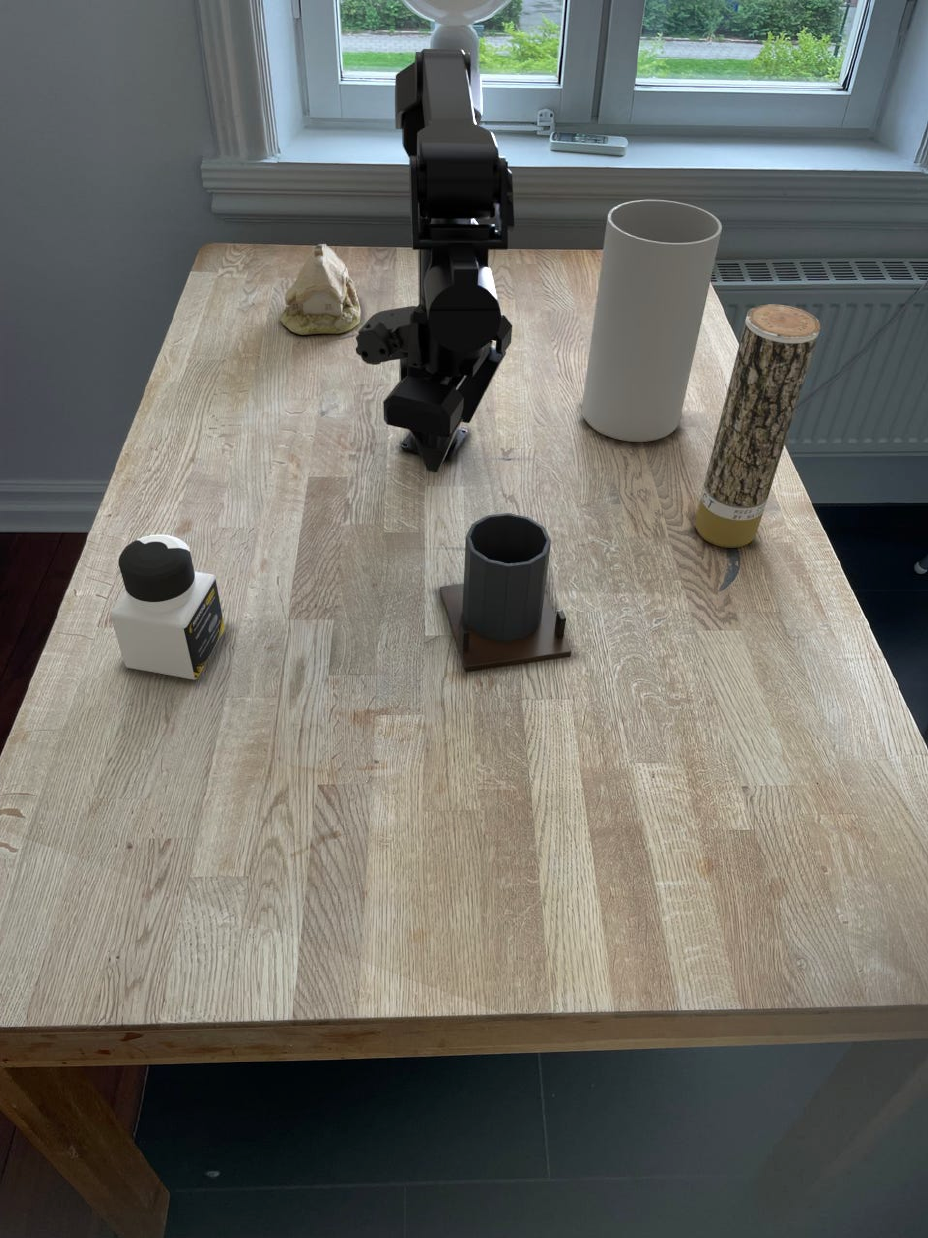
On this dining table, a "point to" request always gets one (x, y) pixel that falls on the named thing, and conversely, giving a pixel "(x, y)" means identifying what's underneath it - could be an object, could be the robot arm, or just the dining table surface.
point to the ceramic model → (322, 296)
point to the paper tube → (755, 422)
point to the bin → (505, 576)
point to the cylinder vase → (648, 317)
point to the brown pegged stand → (496, 654)
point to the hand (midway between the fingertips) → (449, 445)
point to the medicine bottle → (166, 609)
